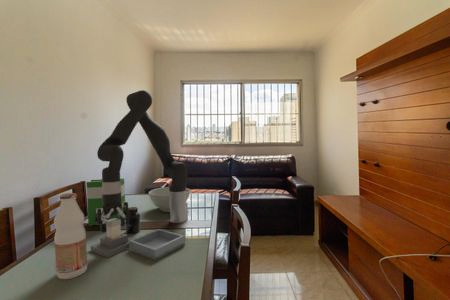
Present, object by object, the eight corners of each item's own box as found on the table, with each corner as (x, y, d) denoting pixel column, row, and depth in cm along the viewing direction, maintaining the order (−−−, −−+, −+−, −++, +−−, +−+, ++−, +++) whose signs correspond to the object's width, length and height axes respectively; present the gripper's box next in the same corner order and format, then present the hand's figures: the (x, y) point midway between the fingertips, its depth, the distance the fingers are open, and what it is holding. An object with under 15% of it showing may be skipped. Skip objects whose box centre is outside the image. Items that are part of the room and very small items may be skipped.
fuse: (115, 240, 112) (114, 218, 112) (121, 242, 110) (120, 219, 110) (106, 243, 109) (105, 220, 108) (112, 245, 107) (111, 222, 106)
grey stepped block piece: (120, 239, 119) (120, 228, 118) (136, 244, 112) (136, 233, 112) (90, 250, 107) (90, 238, 107) (107, 257, 100) (106, 245, 100)
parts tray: (159, 236, 120) (159, 228, 120) (184, 244, 111) (184, 235, 111) (129, 250, 107) (128, 240, 107) (155, 260, 98) (155, 250, 97)
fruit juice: (60, 283, 83) (56, 199, 82) (53, 273, 89) (48, 194, 88) (91, 271, 90) (87, 193, 88) (82, 263, 96) (78, 190, 95)
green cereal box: (88, 226, 137) (86, 182, 136) (93, 221, 145) (91, 179, 143) (122, 223, 140) (120, 180, 138) (125, 219, 147) (124, 178, 146)
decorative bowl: (187, 215, 153) (186, 195, 152) (143, 215, 153) (142, 196, 153) (193, 203, 180) (193, 186, 179) (156, 203, 180) (155, 187, 180)
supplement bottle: (125, 234, 124) (124, 210, 123) (126, 230, 130) (125, 207, 130) (139, 233, 125) (139, 209, 125) (140, 228, 132) (139, 205, 131)
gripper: (121, 187, 116) (122, 222, 117) (90, 193, 105) (91, 232, 105) (131, 189, 112) (132, 225, 113) (100, 196, 100) (101, 236, 101)
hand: (113, 228), depth 109 cm, fingers open, 8 cm apart
